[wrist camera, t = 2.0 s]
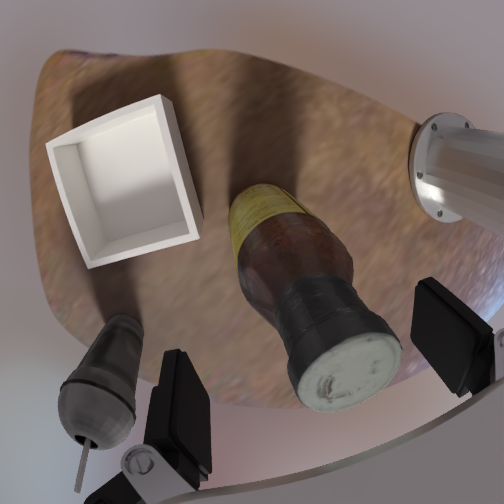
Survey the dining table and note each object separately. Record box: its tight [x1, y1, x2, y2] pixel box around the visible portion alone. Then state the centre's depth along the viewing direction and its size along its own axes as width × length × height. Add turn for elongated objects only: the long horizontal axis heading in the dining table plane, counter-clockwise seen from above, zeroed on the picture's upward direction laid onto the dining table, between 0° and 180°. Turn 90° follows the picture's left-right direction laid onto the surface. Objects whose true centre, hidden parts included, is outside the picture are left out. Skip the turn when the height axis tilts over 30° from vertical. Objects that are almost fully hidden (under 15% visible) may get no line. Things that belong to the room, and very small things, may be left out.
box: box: [46, 94, 204, 269], centre depth 22 cm, size 10×11×5 cm
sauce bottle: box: [228, 183, 402, 413], centre depth 18 cm, size 7×6×20 cm
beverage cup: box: [58, 314, 144, 493], centre depth 21 cm, size 7×7×20 cm
